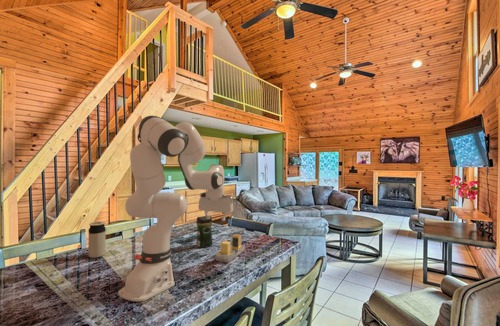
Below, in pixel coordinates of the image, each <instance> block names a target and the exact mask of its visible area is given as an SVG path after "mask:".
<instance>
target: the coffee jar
mask: <svg viewBox="0 0 500 326" xmlns="http://www.w3.org/2000/svg"><path fill="white" fill-rule="evenodd" d="M212 224H213V218H212V215H210V219H206V215H203V216H197V218H196V228H197V233H196V242H195V243H196V245H195V246H196V247H197V248H201V249H203V248H204V249H205V248H208V247H211V246H213V235H212V226H213V225H212Z"/></svg>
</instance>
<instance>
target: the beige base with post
mask: <svg viewBox="0 0 500 326" xmlns="http://www.w3.org/2000/svg"><path fill="white" fill-rule="evenodd" d="M231 238H232V240H231V253H229V254H228V255H226V254H221V249H220V250H218V251H217V252H215V261H216V262H221V263H226V264H230V262H231V261H233V260H234V259H235V258H236V257H237V256H239V255H240V254H241V253H243V252H244V251H245V250H246V245H243V244H242V234H238V233H237V234H236V233H235V234H233V235H232V237H231Z"/></svg>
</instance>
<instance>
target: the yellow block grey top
mask: <svg viewBox="0 0 500 326" xmlns="http://www.w3.org/2000/svg"><path fill="white" fill-rule="evenodd" d="M231 246H232V241H227V240H223V241H221V243H220V250H221V254H226V255H228V254H229V253H231Z"/></svg>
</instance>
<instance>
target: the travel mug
mask: <svg viewBox="0 0 500 326" xmlns="http://www.w3.org/2000/svg"><path fill="white" fill-rule="evenodd" d="M105 224H106V222H105V221H101V220H99V221H93V222H90V223H89V228H88V257H89V258H93V259H95V258H100V257H103V256H105V255H106V237H107V236H106V235H107V234H106V233H107V232H106V230H107V229H106V228H107V227H105V226H106V225H105Z"/></svg>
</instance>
